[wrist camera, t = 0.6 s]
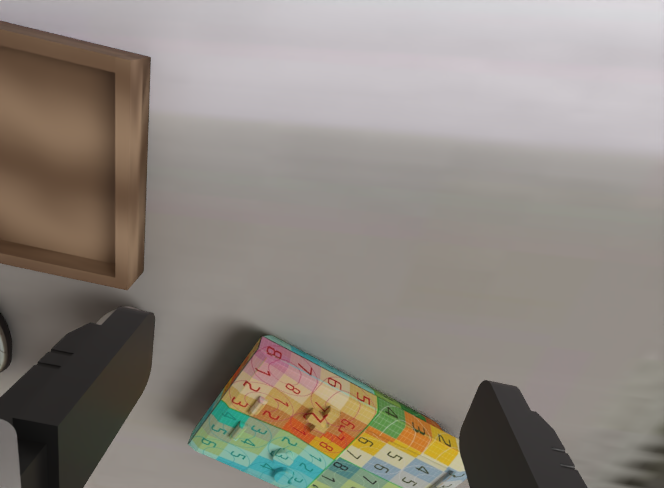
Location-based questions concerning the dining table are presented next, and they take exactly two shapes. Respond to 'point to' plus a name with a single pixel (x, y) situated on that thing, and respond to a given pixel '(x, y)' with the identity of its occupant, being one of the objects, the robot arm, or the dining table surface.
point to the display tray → (72, 156)
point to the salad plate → (5, 345)
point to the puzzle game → (321, 428)
